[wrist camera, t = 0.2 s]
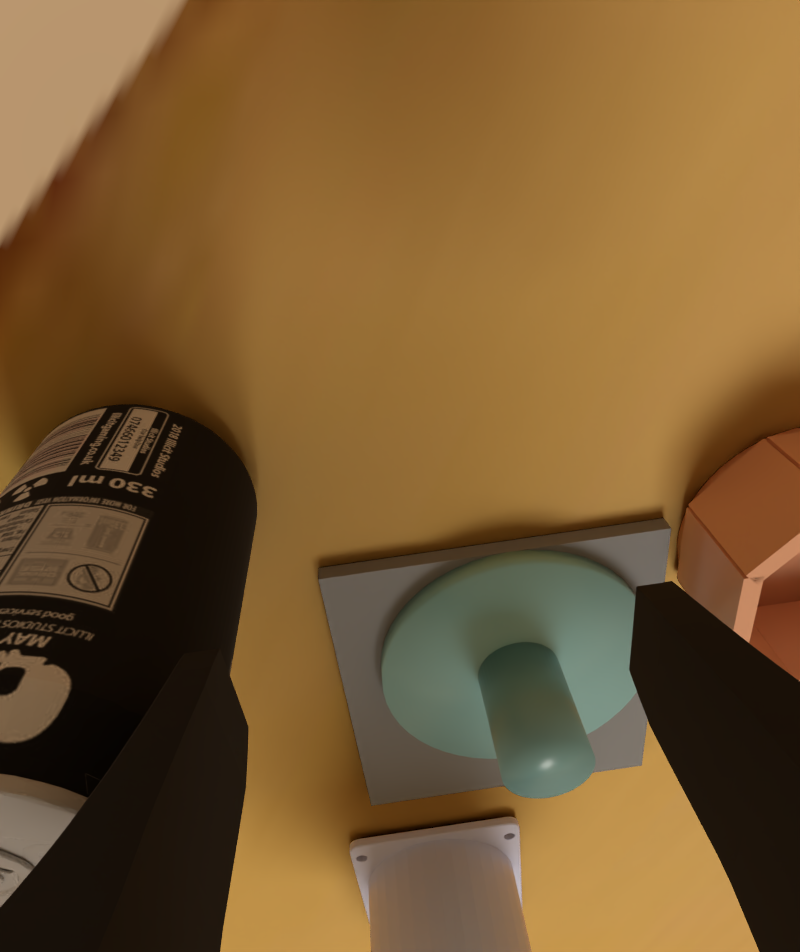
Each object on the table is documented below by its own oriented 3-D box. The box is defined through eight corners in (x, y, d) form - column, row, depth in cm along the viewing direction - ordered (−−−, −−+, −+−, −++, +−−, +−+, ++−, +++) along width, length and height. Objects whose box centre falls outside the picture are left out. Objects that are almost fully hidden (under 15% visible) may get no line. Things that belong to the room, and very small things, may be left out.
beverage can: (193, 600, 23) (83, 1019, 13) (2, 510, 21) (-320, 941, 10) (300, 468, 21) (268, 854, 11) (99, 348, 18) (-195, 702, 8)
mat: (636, 753, 30) (641, 765, 29) (370, 793, 30) (371, 805, 29) (663, 518, 23) (671, 528, 23) (318, 567, 23) (318, 579, 22)
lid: (635, 722, 28) (687, 835, 24) (397, 757, 28) (408, 876, 24) (656, 529, 23) (727, 631, 18) (362, 572, 22) (369, 685, 18)
